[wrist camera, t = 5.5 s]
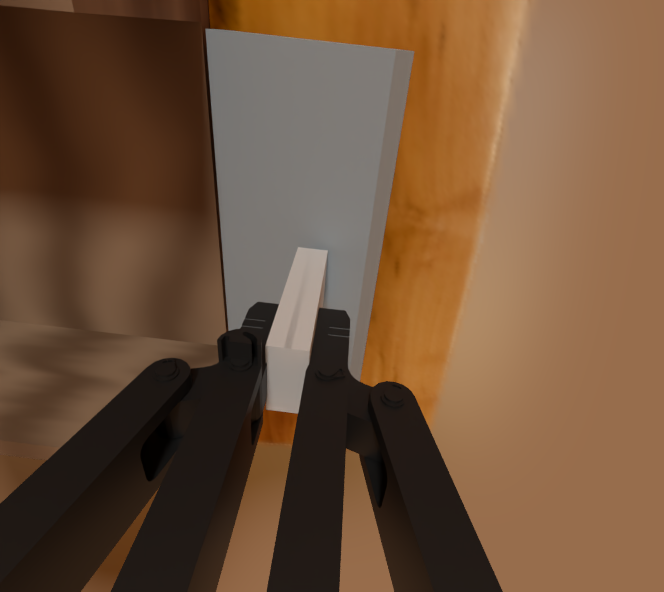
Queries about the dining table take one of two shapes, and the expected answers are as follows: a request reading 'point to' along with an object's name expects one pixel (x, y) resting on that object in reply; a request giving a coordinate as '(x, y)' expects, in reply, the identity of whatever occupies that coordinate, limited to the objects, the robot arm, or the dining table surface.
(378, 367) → the dining table surface
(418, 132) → the dining table surface
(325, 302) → the panel
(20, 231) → the crate
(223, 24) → the dining table surface
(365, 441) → the robot arm
